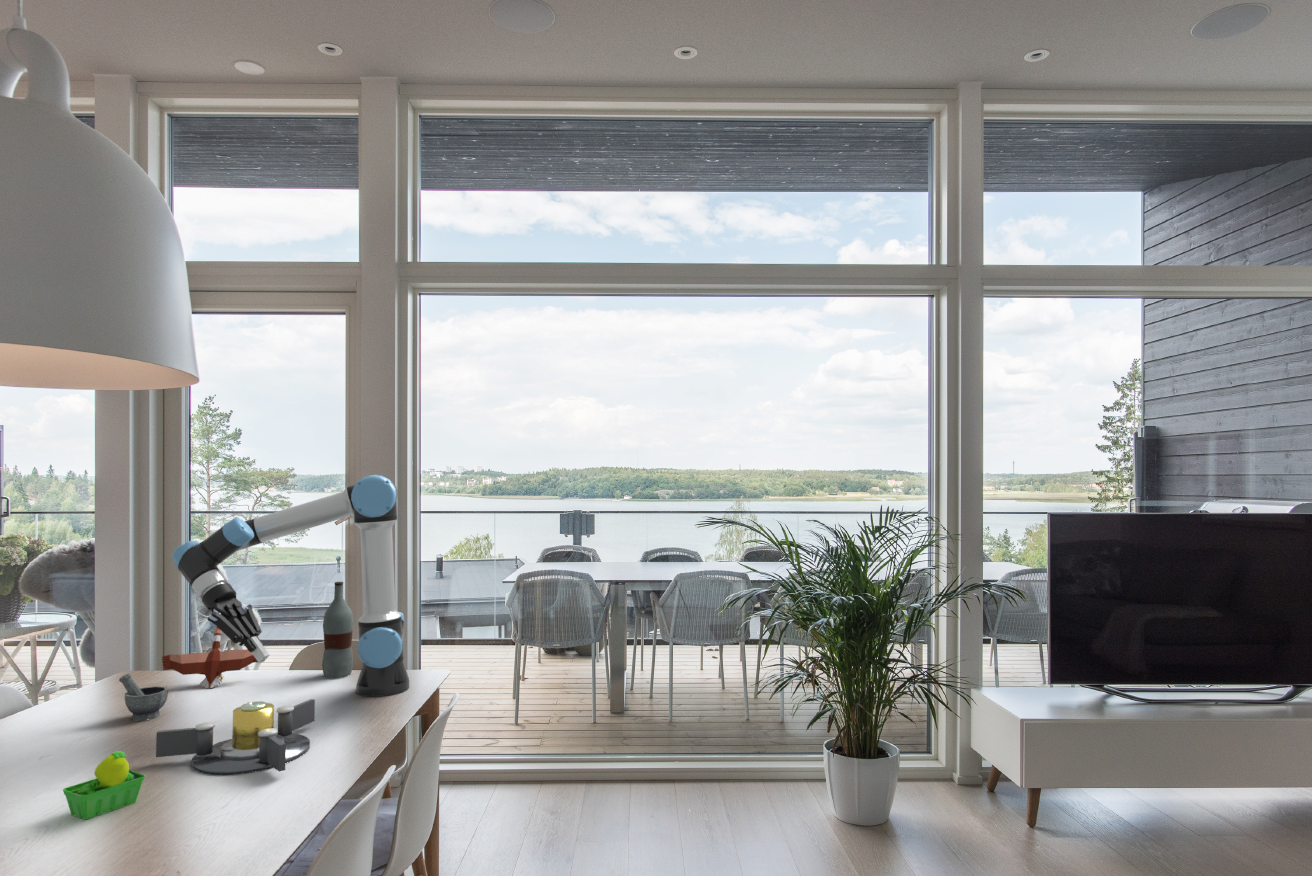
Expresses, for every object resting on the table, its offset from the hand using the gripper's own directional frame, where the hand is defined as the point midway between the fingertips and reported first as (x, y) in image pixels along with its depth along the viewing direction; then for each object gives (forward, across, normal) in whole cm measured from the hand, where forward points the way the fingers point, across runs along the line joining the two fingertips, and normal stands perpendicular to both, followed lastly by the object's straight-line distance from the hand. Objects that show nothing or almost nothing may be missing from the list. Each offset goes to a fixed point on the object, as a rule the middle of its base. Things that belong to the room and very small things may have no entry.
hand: (264, 659), depth 194 cm
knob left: (+29, +23, +6) cm, 38 cm away
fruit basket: (+18, +47, -7) cm, 51 cm away
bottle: (+1, -48, -23) cm, 53 cm away
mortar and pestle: (-14, +2, -39) cm, 41 cm away
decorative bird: (-20, -30, -45) cm, 58 cm away
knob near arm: (+20, +3, -2) cm, 21 cm away
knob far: (+12, +24, -11) cm, 29 cm away
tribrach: (+21, +17, -3) cm, 27 cm away
